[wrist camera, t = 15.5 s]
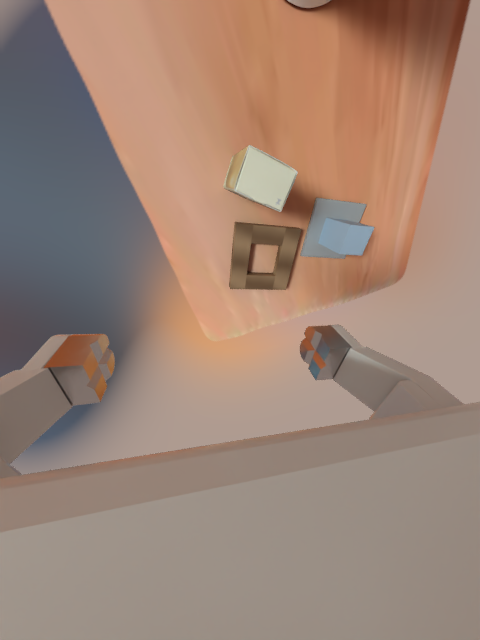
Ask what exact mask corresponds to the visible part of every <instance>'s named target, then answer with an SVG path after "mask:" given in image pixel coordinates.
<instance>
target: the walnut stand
mask: <svg viewBox="0 0 480 640" xmlns="http://www.w3.org/2000/svg"><path fill="white" fill-rule="evenodd" d="M300 233H301V229H300V228H296V227H285V226H274V225H263V224H252V223H241V222H235V225H234V236H233V248H232V259H231V271H230V282H229V287H230V289H268V290H286V287H287V283H288V279H289V275H290V271H291V268H292V264H293V260H294V256H295V252H296V249H297V245H298V241H299V237H300ZM251 243H254V244H269V245H279V248H278V252H277V257H276V262H275V267H274V271H273V273H252V272H247V269H248V262H249V255H250V247H251Z"/></svg>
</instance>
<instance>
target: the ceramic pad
mask: <svg viewBox="0 0 480 640" xmlns="http://www.w3.org/2000/svg"><path fill="white" fill-rule="evenodd" d="M366 205H367V204H361V203H353V202H346V201H338V200H330V199H322V198H316V200H315V204H314V208H313V211H312V215H311V218H310V222H309V226H308V229H307V233H306V237H305V240H304V244H303V247H302V251H301V256H308V257H325V258H342V259H345V257H346V254H338V253H336V252H334V251H332V250H330V249H328V248H326V247H325V246H323V245H321V244H319V243H318V242H319V239H320V236H321V232H322V229H323V226H324V223H325V220H326V218H334V219H343V220H349V221H353V222H357V223H359V222H360V220H361V217H362V215H363V212H364V210H365V207H366Z"/></svg>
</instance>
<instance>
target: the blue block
mask: <svg viewBox="0 0 480 640" xmlns="http://www.w3.org/2000/svg"><path fill="white" fill-rule="evenodd" d="M373 229H374V227H372V226H368V225H364V224H361V223H357V222H353V221H349V220H343V219H334V218H326V220H325V223H324V226H323V229H322V232H321V236H320V239H319V242H318V243H319V244H321V245H323V246H325V247H326V248H328V249H330V250H332V251H334V252H336V253H338V254H346V255H362V254H363V252H364V249H365V247H366V245H367V243H368V240H369V238H370V236H371V234H372V231H373Z"/></svg>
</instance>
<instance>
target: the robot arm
mask: <svg viewBox="0 0 480 640" xmlns="http://www.w3.org/2000/svg"><path fill="white" fill-rule="evenodd" d="M287 1H289V2H290V3H292V4H294V5H296V6H299V7H304V8H314V7H318V6H321V5H324V4H326V3H328V2H329V1H331V0H287ZM304 334H305V337H306V338H305V339H303V340H302V341H301V345H300V354H301V357H302V359H303V360H304V361H305V362H306V363H308V364H309V370H310V372H311V373H312V375H313V377H314V378H315V380H326V379H333V380H334V381H335V382H337V383H338V384H339V385H340V386H342V387H343V388H344V389H346V390H347V391H348V392H350V393H351V394H352V395H353V396H355V397H356V398H357V399H359V400H360V401H361V402H362V403H364V404H365V405H366V406H368V407H369V408H370V409H372V410H373V411H374V413H373V414H372V415H371V417H370V418H369V420H364V421H358V422H351V423H344V424H338V425H332V426H326V427H319V428H313V429H307V430H300V431H294V432H288V433H282V434H276V435H269V436H263V437H256V438H250V439H244V440H237V441H231V442H225V443H219V444H213V445H206V446H200V447H194V448H187V449H181V450H175V451H169V452H162V453H156V454H150V455H144V456H137V457H131V458H125V459H119V460H112V461H106V462H99V463H93V464H87V465H81V466H75V467H68V468H62V469H55V470H49V471H43V472H37V473H30V474H24V475H22V474H21V473H20V472H19V471H18V470H16V469H15V468H14V467H12V466H11V465H10V463H12V462H13V461H14V460H15V459H16V458H17V457H18V456H19V455H20V454H21V453H22V452H24V450H25V449H27V448H28V447H29V446H30V445H31V444H32V443H33V442H34V441H35V440H37V439H38V438H39V437H40V436H41V435H42V434H43V433H44V432H45V431H47V430H48V428H50V427H51V426H52V425H53V424H54V423H55V422H56V421H57V420H58V419H60V417H62V416H63V415H64V414H65V413H66V412H67V411H68V410H69V409H70V408H72V406H73V405H82V404H89V403H97V402H101V400H102V397H103V395H104V393H105V390H106V388H107V384H106V382H105V381H106V380H107V379H108V378H109V377H111V376H112V373H113V371H114V364H115V360H114V355H113V352H112V351H111V350H110V349H108V348H107V346H108V344H109V340H108V338H107V336H106V335H105V334H73V335H55V336H52V337H51V338H50V339H49V340H48V341H47V342H46V343H45V344H44V345H43V346H42V347H41V349H40V350H39V351H38V352H37V353H36V354H35V355H34V356H33V357H32V358H31V359H30V361H29V362H28V363H27V364H26V365H25V366H24V367H23V368H22V370H14V371H13V372H11V373H9V374H7V375H5V376H3V377H1V378H0V640H480V402H476V403H470V404H463V403H462V402H460V401H459V400H458V399H457V398H456V397H454V396H453V395H452V394H451V393H449V392H448V391H447V390H446V389H445V388H444V387H442V386H441V385H440V384H439V383H437V382H436V381H435V380H434V379H433V378H431V377H430V376H428V375H426V374H423V373H421V372H419V371H417V370H415V369H413V368H411V367H408V366H406V365H404V364H402V363H400V362H398V361H396V360H394V359H392V358H389V357H387V356H385V355H383V354H381V353H379V352H376V351H374V350H372V349H370V348H368V347H363V346H362V345H361V344H360V343H359V342H358V341H357V340H356V339H355V338H354V337H353V336H352V335H351V334H350V333H349V332H347V330H345V328H343V327H342V326H341V325H328V326H309V327H307V328H306V330H305V333H304Z"/></svg>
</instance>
